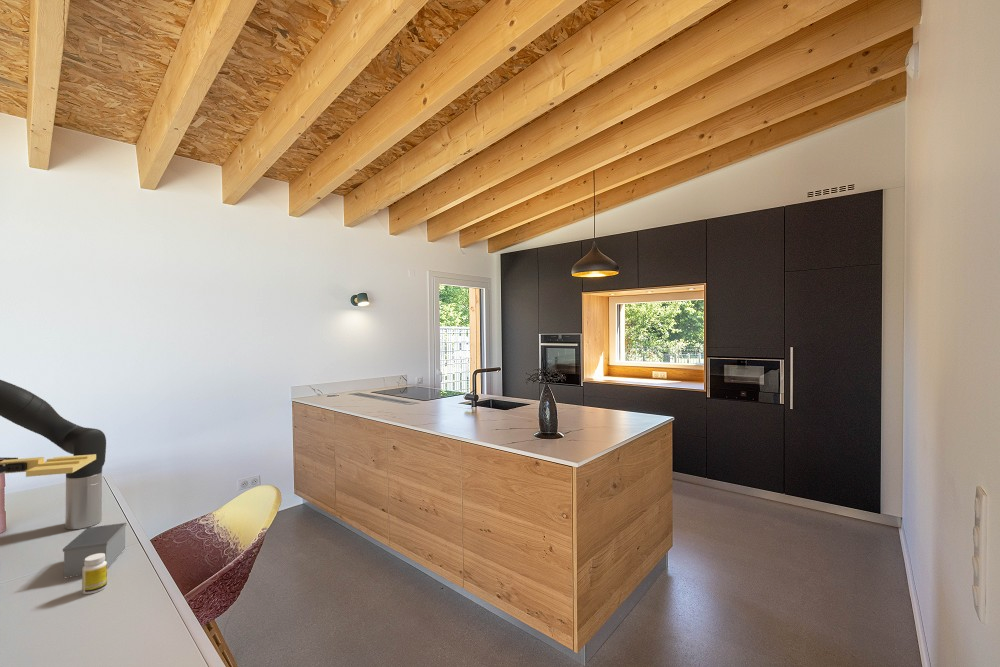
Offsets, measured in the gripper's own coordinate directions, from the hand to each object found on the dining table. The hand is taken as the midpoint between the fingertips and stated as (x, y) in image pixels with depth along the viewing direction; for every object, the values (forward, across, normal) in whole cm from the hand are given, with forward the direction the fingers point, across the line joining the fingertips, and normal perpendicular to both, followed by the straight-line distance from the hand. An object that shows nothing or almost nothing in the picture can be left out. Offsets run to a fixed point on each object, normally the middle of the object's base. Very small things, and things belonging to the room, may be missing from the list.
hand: (29, 464), depth 124 cm
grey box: (+15, 0, +30) cm, 33 cm away
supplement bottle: (+20, -17, +30) cm, 40 cm away
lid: (+3, 0, +1) cm, 3 cm away
